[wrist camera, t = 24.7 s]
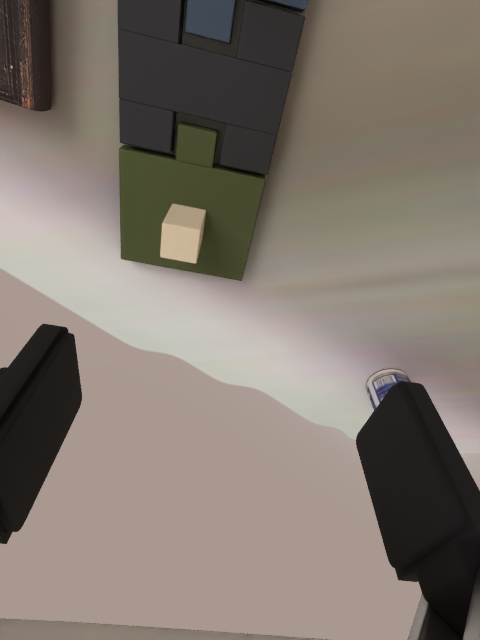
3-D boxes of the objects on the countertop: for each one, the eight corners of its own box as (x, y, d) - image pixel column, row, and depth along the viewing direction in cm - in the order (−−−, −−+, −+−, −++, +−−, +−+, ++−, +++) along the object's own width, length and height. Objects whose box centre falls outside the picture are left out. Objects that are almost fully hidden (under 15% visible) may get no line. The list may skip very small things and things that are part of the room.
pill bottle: (396, 397, 47) (425, 464, 39) (359, 392, 47) (381, 459, 39) (415, 370, 44) (451, 437, 36) (375, 364, 43) (403, 431, 36)
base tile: (302, 18, 23) (305, 16, 22) (266, 170, 29) (267, 175, 28) (124, -30, 22) (116, -35, 21) (125, 139, 28) (119, 142, 27)
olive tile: (272, 142, 28) (277, 159, 23) (242, 273, 36) (241, 306, 31) (123, 108, 27) (97, 119, 22) (125, 252, 34) (105, 283, 30)
